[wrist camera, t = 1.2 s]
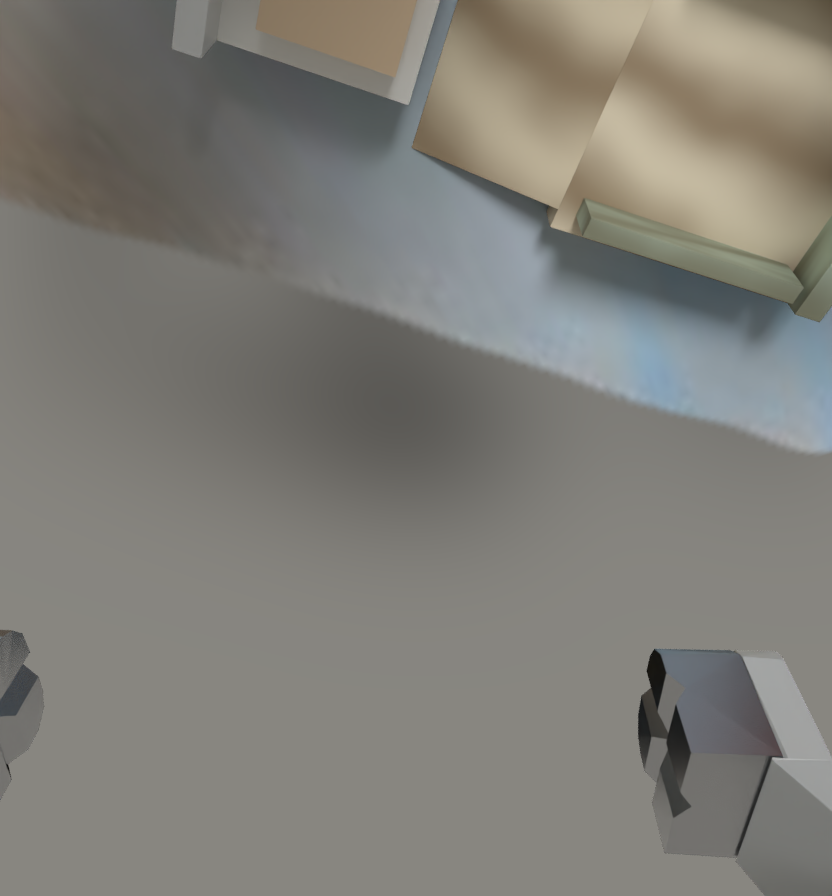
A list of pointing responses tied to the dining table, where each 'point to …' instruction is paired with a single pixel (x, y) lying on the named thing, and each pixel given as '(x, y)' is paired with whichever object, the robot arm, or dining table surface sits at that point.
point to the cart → (318, 37)
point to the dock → (655, 128)
